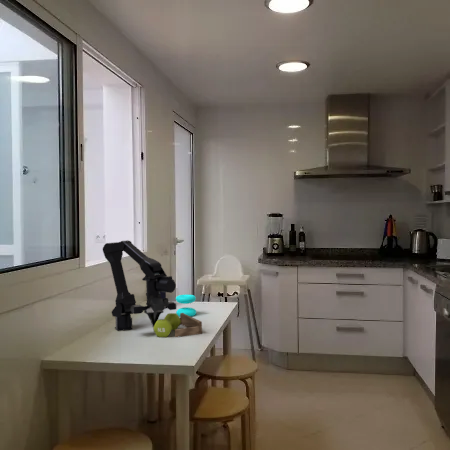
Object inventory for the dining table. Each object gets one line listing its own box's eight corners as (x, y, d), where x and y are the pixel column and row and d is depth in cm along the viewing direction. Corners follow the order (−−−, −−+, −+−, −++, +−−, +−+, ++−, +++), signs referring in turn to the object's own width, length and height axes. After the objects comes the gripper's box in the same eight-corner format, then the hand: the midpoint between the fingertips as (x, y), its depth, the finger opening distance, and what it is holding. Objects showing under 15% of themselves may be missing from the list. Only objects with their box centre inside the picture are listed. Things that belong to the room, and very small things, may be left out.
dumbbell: (170, 338, 205) (169, 320, 205) (152, 337, 207) (151, 320, 206) (182, 329, 221) (181, 312, 221) (165, 328, 223) (164, 312, 223)
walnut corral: (176, 337, 206) (175, 325, 206) (158, 326, 226) (158, 315, 226) (202, 333, 211) (201, 321, 211) (182, 323, 231) (182, 312, 231)
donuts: (174, 294, 253) (193, 293, 256) (174, 314, 253) (193, 312, 256) (177, 297, 243) (197, 296, 246) (178, 318, 243) (198, 316, 246)
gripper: (136, 295, 202) (138, 334, 202) (180, 291, 210) (181, 328, 210) (129, 292, 212) (130, 328, 212) (171, 288, 220) (172, 323, 220)
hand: (154, 327), depth 213 cm, fingers closed
